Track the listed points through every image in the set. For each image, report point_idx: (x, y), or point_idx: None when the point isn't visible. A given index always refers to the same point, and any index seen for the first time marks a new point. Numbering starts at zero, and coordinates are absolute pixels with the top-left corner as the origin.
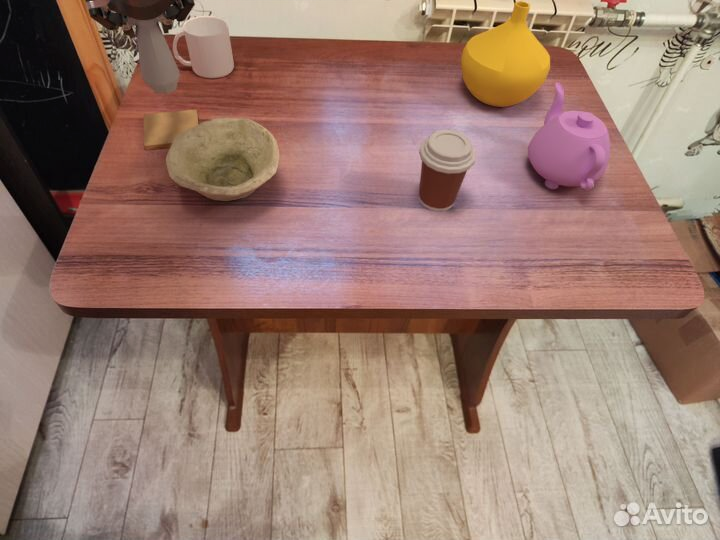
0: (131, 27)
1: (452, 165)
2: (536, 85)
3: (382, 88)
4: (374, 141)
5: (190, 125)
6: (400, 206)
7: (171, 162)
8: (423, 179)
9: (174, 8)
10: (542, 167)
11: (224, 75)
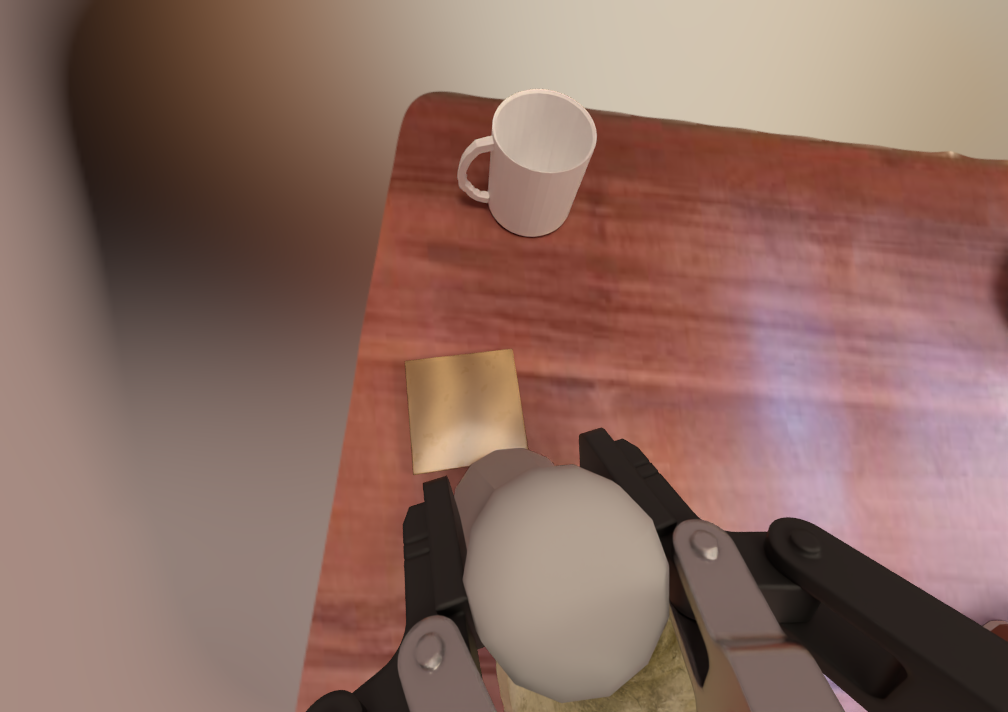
0: (479, 641)
1: None
2: None
3: (855, 289)
4: (864, 462)
5: (505, 405)
6: None
7: (518, 709)
8: None
9: (796, 602)
10: None
11: (553, 230)
